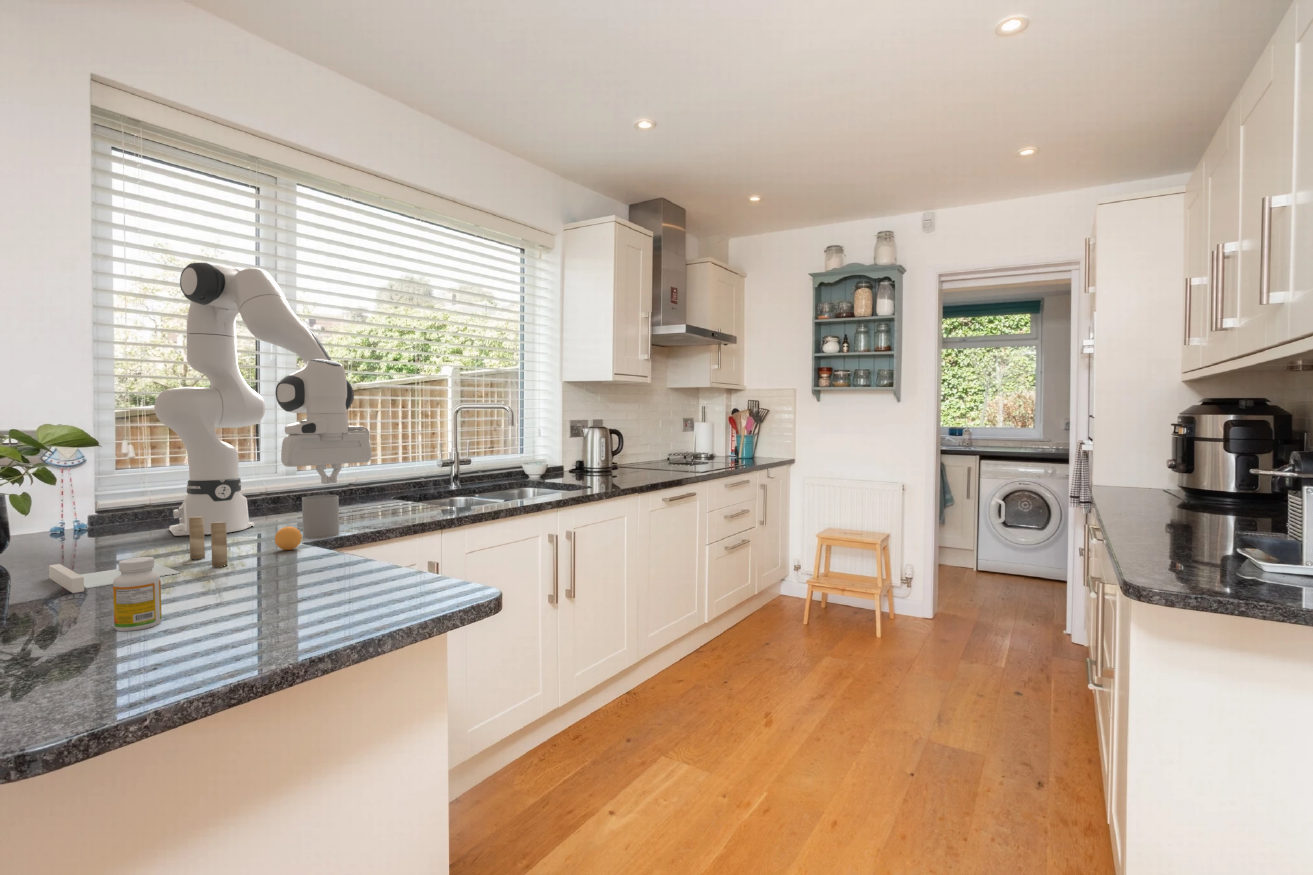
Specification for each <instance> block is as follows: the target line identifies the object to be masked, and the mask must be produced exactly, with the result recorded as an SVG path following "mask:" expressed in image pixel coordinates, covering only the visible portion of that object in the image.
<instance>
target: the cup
mask: <svg viewBox="0 0 1313 875" xmlns="http://www.w3.org/2000/svg"><path fill="white" fill-rule="evenodd" d="M339 499H340V496H339V495H335V494H321V495H309V496H304V497H301V501H302V502H301V509H302V510H301V511H302V512H301V513H302V538H305V539H306V538H308V539H319V538H329V537H335V536H339V534H340V514H339V513H340V504H339V501H340V500H339Z"/></svg>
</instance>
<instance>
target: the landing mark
mask: <svg viewBox="0 0 1313 875" xmlns="http://www.w3.org/2000/svg"><path fill="white" fill-rule="evenodd" d="M152 571H155V572H157V573H159V575H160V576H161V577H166V576H165V575H168V576H172V574H174V575H179V573H180V574H181V572H180V571H178V570H175V569H173V568H171V567H168V566H165V565H162V564H160V563H156V562H154V568H152ZM80 575H81V576H82V577H84V589H93V588H94V589H95V588H100V587H105V586H113V581H114V579H115V578H116V577H118V576H120V575H121V572H119V568H117V569H115V568H114V569H108V570H102V571H95V572H87V573H82V574H80Z"/></svg>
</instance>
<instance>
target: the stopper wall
mask: <svg viewBox="0 0 1313 875" xmlns="http://www.w3.org/2000/svg"><path fill="white" fill-rule="evenodd" d="M48 570H49V571H48V572H49V579H50V580H51V581H53V582H55V583H56V584H58V585H59V586H61V587H62V588H64V589H65V590H67V591H69V592H70V593H71V594H75V593H83V592H85V587H84V577H82V576H81V574H79V573H77V572H75V571H73V570H72V569H69V568H68V567H66V566H65V565H62V564H61V563H56V564H49V565H48Z"/></svg>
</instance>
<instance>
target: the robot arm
mask: <svg viewBox="0 0 1313 875" xmlns="http://www.w3.org/2000/svg"><path fill="white" fill-rule="evenodd" d="M179 286H180V287H179V288H180V290H181V292H182V294H183V296H184V297H185V298H186V299H187V300H189V301H190V302H189V307H188V313H187V319H186V320H187V321H186V360H187V363H188V365H189V366H190V367H191V369H193V370H194V371H196V372H198V373H199V374H202V375H204V376H205V377H206V378H207V379H208V381H209V384H210V387H204V386H201V387H199V386H198V387H197V386H180V387H173V388H167V389H163V390H162V391H161V392H160V393H159V394H158V396H157V397H156V398H155V401H154V404H153V405H154V408H153V409H154V413H155V416H156V417H157V419H158V421H160V423H162V424H163V425H164V426H166V427H168V428H169V429H170V430H171V431H173V432H174V433H175V434H176V435H177V436H178V437H179V439H180V440H181V441H182V444H183V445H184V447H185V450H186V454H187V460H188V461H187V462H188V470H189V471H188V472H189V475H188V476H189V479H188V481H187V483H186V484H187V485H186V494H187V495H186V497H185V499H184V500H183V502H182V503H181V505H180V506H179V507H178V509H174V510H172V515H173V516H172V517H173V518H174V519H178V524H172V525H169V527H168V530H169V531H170V532H171V534H172V535H173V536H190V534H189V518H190V517H204V536H205V535H211V523H213V522H226V533H232V532H233V533H234V532H238V531H239V532H240V531H243V530H246V529H249V528H252V527H251V526H253V527H255V522H252V521H250V518H249V508H248V499H247V497H246V496H244V495H243V494H242V493H241V492H240V491H242V480H241V477H240V476H239V474H240V473H239V472H240V471H239V452H238V450H237V449H236V447H235V446H233V445H231V444H230V443H228V442H226V441H223V440H221V439H220V438H219V437H218V435H217V434H216V433H217V432H216V429H225V428H226V429H228V428H229V429H230V428H231V429H233V428H235V429H239V428H240V429H241V428H244V427H249V426H254V425H257V424H259V423H260V422H262V421H261V420H263V418H264V416H265V412H266V405H265V402H264V399H263V397H262V396H261V394H260V393H258V392H257V391H256V390H254V389H253V388H251V387H250V385H249V384H248V383H247V382H246V380H245V379H244V377H243V375H242V373H241V371H240V368H239V367H240V366H239V365H238V364H239V363H238V353H237V329H236V320H237V317H238V316H239V315H240V317H241V319H242V322H243V324H244V325H245V327H246V329H247V330H248V331H249V332H250V333H251V335H253V336H254V337H255V338H256V339H258V340H260V341H263V342H265V343H268V344H270V345H275V346H277V347H279V348H282V349H285V350H287V351H290V352H291V353H293V354H295V355H296V356H298V357H299V358H300V359H302V361H303V363H304V364H305V366H304V367H302V368H301V369H299V370H298V371H296V372H293V373H291V374H286V375H284V376H283V377H282V378H280V379H279V381H278V382H277V385H276V388H275V398H276V402H277V403H278V405H279V406H280V408H281V409H282V410H284V411H285V412H286V413H287V412H289V413H294V414H306V419H304V420H301V421H297V422H293V423H289V424H287V425H285V427H284V432H285V434H286V436H284V438H283V440H282V444H281V452H280V456H281V457H280V460H281V464H282V465H283V466H284V467H290V468H291V467H293V468H294V467H311V466H315V470H316V471H317V474H318V476H320V481H321V484H322V485H326V484H337V483H338V477H337V476H338V475H339V473H340V471H341V470H342V465H343V464H345V465H346V464H357V463H358V464H359V463H360V464H361V463H368V462H370V461H371V459H372V450H371V449H372V448H371V443H370V439H371V438H370V431H369V429H368V428H367V427H365V426H364V425H349V422H348V421H349V419H348V417H349V415H348V410H349V409H350V407H351V406H352V404H353V403H354V399H355V392H354V390H353V389H354V388H353V386H352V384H351V383H350V382H349V379H348V378H347V375H346V371H345V367H344V364H342V363H340V362H339V361H336V360H332V359H331V357H330V355H329V354H328V352H327V350H325V347H324V346H323V345H322V343H321V341H320V340H319V339H318V337H317V336H316V335H315V333H314V332H313V331H312V330H311V328H309V327H308V326H307V325H306V324H304V322H302V321H301V320H300V318H299V317H298V315H296V314H295V312H294V311H293V310H292V308H291V307H290V305H289V302H288V301H287V299H286V296H285V294H284V293H283V291H282V290H281V288H280V286H279V285H278V283H277V281H275V279H274V277H272V275H271V274H270V273H269V272H268V271H266V270H264V269H262V268H258V267H248V268H247V267H246V268H244V269H243V268H240V267H236V266H228V265H227V266H226V265H219V264H218V265H217V264H210V263H207V262H192V263H189V264H187V265H186V266H185V268H183V269H182V271H181V274H180V278H179ZM327 465H331V466H330V467H331V469H332V472H331V474H330V475H328V474H327V473H326V471H325V470H326V469H327Z"/></svg>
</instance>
